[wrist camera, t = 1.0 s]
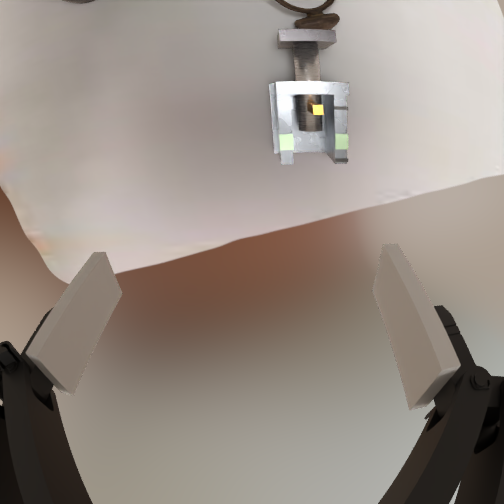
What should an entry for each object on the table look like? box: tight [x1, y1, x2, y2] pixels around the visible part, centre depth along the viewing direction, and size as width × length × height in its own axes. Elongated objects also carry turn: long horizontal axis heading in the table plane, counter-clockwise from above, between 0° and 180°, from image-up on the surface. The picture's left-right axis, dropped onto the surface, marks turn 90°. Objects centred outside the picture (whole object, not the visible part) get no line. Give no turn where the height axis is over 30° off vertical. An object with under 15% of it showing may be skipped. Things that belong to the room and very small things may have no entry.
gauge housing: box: [269, 81, 349, 165], centre depth 26 cm, size 8×8×7 cm
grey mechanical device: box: [277, 29, 336, 132], centre depth 22 cm, size 10×5×8 cm, turn 5°
